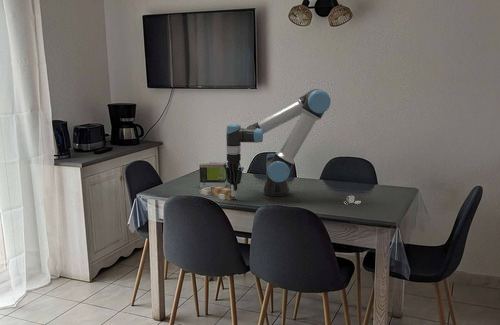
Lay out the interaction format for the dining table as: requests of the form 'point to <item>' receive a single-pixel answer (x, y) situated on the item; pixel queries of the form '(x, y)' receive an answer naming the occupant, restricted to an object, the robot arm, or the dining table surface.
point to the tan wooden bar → (221, 192)
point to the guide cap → (222, 196)
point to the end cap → (205, 190)
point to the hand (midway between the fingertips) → (233, 195)
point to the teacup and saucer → (352, 200)
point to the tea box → (212, 174)
